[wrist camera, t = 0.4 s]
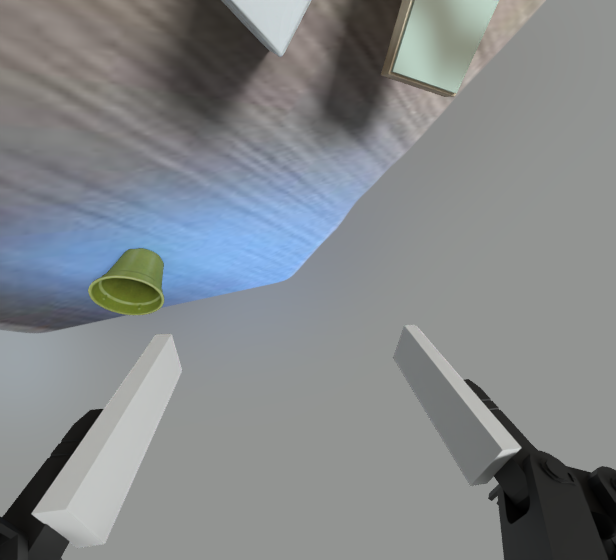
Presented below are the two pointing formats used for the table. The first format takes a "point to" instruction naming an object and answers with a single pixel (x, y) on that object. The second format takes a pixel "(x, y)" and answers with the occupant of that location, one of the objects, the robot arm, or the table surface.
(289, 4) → the supplement box
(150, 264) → the plant pot
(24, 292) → the table surface
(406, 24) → the seesaw beam
